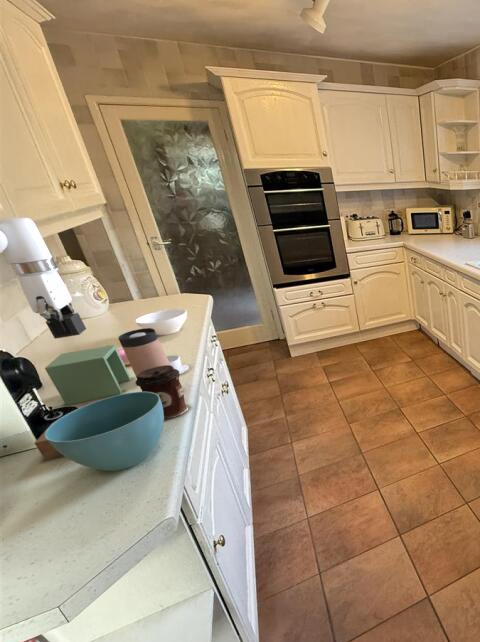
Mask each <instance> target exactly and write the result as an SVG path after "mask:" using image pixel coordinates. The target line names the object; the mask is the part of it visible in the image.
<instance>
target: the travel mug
mask: <svg viewBox="0 0 480 642" xmlns="http://www.w3.org/2000/svg"><path fill="white" fill-rule="evenodd" d="M118 340H119V343H120V345H121V347H122V349H123V350H124V352H125V354H126V356H127V358H128V360H129V363H130V365H129V366H130V367H131V369H132V371H133V373H134V375H135V377H136V379H137V375H138V374H139V373H140V372H142V371H144V370H147V369H151V368H155V367H158V366H165V365H170V364H169V361H168V359H167V357H166V356H167V355H166V352H165V350H164V348H163V346H162V343H161V341H160V339H159V336H158V335H157V334H156V332H155V330H154V329H152V328H145V329H143V328H137V329H134V330H131V331H127V332H124V333H121V334H120V335H119V336H118Z"/></svg>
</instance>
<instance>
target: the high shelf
mask: <svg viewBox="0 0 480 642" xmlns="http://www.w3.org/2000/svg"><path fill="white" fill-rule="evenodd" d="M118 350H119V349H118V348H117V346H116V345H115V344H111V345H105V346H99V347H94V348H89V349H88V348H87V349H82V350H77V351H76V350H75V351H71V352H65V353H60V354H59V355H58V356H57V357H56V358H54V359H53V360H52V361H51V362H50V363H49V364H47V365H46V366H45V367H44V369H45V370H44V371H46V373H47V375H48V377H49V378H50V380H51V382H52V384H53V386H54V387H55V389H56V390H57V392H58V394H59V396H60V397H61V399H62V400H63V402H64V404H65V406H70V405H74V404H79V403H84V402H88V401H93V400H97V399H102V398H108V397H112V396H116V395H121V394H123V390H122V388H121V386H120V384H121V383H124V382H129V381H131V380H132V377H131V376H130V373H129V371H128V369H127V367H126V365H124V363H123V361H122V359H121V356H120V354H119V352H118ZM119 383H120V384H119Z"/></svg>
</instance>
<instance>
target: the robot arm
mask: <svg viewBox="0 0 480 642" xmlns="http://www.w3.org/2000/svg"><path fill="white" fill-rule="evenodd" d="M0 253H3V255H4V257H5V258H6V260H7V262H8V264H9V265H10V267H11V269H12V271H13V273H14V274H15V276H16V277H17V278H18V282H19V285H20V287H21V290H22V293H23V294H24V296H25V299H26V301H27V303H28V305H29V307H30V309H31V311H32V312H33V313H34V314H39V316H40V317H42V318H43V319H44V320H46V321H47V322H48V323H49V324H50V326H51V328H52V329H53V331H54V333H55V335H56V336H61V335H67V334H71V333H72V330H71V328H70V327H69V325H68V323H67V321H66V320H63V317H62V315H66V314H73V313H75V309H74V308H73V305H72V301H73V298H72V296H71V293H70V291H69V289H68V287H67V286H66V283H65V282H64V281H63V279H62V277H61V276H60V274H59V273H58V271H59V268H58V265H57V263H56V261H55V260H54V258H53V256H52V253H51V252H50V250H49V247H48V246H47V244H46V242H45V240H44V238H43V236H42V234H41V233H40V231H39V228H38V227H37V225H36V223H35V222H34V220H33V219H31V218H29V217H25V216H24V217H23V216H20V217H19V216H17V217H16V216H15V217H5V218H0ZM50 309H51V310H50Z"/></svg>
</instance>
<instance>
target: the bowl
mask: <svg viewBox="0 0 480 642" xmlns="http://www.w3.org/2000/svg"><path fill="white" fill-rule="evenodd" d="M187 318H188V312H187V310H186V309H183V308H172V309H163V310H158V311H154V312H151V313H148V314H144V315H142V316H140V317H138V318H136V319H135V324H136V325H137V326H138V327H139V328H140V329H145V328H152V329H154V330H155V332H156V334H157V336H167V335H171V334H175V333H177V332H179V331H180V330H181V328H182V326H183V325H184V323H185V322H186V320H187Z"/></svg>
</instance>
